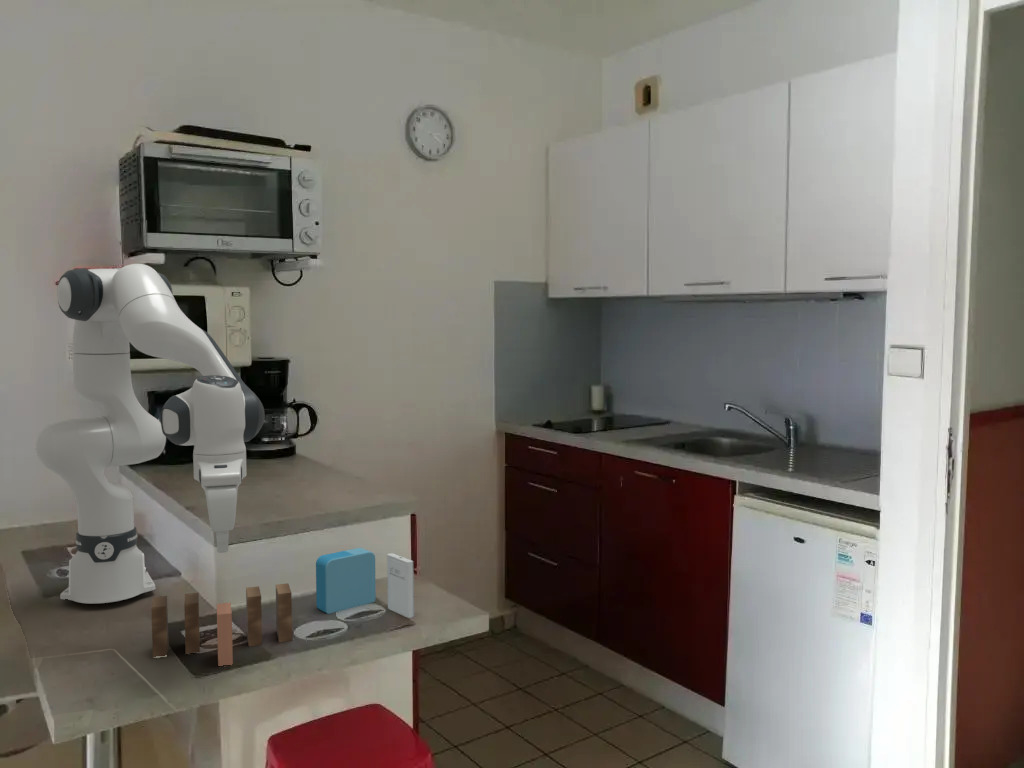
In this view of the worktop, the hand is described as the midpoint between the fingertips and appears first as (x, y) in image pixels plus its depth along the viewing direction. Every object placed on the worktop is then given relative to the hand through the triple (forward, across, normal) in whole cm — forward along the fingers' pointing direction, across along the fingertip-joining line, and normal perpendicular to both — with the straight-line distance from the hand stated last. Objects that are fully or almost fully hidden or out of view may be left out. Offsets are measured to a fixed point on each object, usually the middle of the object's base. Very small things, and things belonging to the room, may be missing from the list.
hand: (222, 545), depth 148 cm
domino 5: (+22, -8, +11) cm, 26 cm away
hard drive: (+22, -13, +35) cm, 43 cm away
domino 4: (+22, -8, +6) cm, 24 cm away
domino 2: (+22, -8, -6) cm, 24 cm away
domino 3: (+22, 0, 0) cm, 22 cm away
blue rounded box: (+22, -22, +25) cm, 40 cm away
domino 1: (+22, -8, -11) cm, 25 cm away
